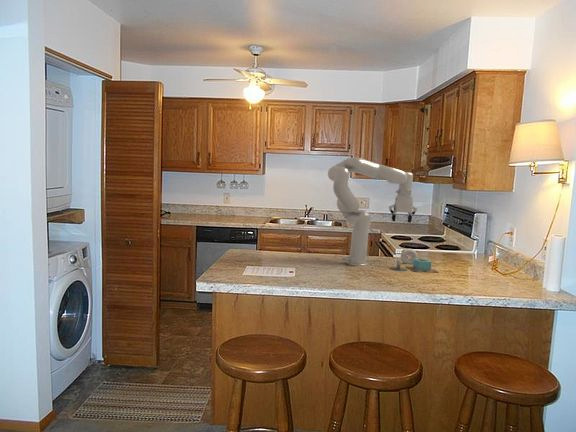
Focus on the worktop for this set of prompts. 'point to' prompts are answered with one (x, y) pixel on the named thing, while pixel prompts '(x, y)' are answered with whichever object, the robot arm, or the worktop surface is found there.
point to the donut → (404, 255)
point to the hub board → (421, 270)
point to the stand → (398, 267)
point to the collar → (422, 265)
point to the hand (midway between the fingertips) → (401, 221)
